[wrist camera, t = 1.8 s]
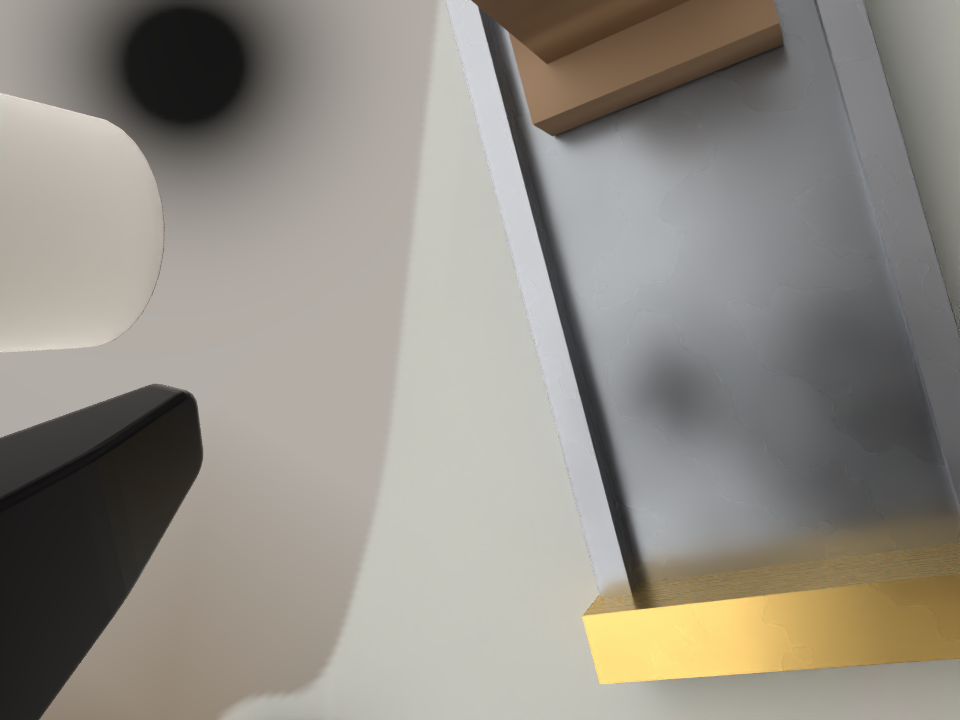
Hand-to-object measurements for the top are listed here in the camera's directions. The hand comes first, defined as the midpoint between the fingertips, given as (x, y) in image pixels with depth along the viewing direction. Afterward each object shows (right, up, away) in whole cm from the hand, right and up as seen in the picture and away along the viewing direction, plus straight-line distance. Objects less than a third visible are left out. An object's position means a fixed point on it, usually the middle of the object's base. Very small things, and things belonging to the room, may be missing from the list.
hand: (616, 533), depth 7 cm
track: (+4, +5, +11) cm, 13 cm away
